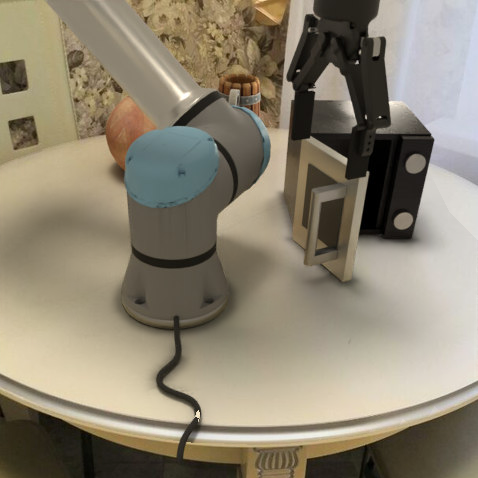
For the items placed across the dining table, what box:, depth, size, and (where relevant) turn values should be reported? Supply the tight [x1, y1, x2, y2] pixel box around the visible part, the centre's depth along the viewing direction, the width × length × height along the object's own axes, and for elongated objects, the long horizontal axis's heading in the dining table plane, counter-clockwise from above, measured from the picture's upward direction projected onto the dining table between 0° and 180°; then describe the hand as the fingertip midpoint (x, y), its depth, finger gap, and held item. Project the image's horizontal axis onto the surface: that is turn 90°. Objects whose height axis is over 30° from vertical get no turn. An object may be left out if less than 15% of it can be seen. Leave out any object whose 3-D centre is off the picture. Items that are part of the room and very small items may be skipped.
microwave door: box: [291, 136, 369, 283], centre depth 93 cm, size 7×15×18 cm, turn 28°
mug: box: [217, 72, 262, 119], centre depth 130 cm, size 16×11×15 cm
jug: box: [104, 95, 157, 172], centre depth 120 cm, size 18×18×20 cm
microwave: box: [283, 99, 435, 239], centre depth 106 cm, size 18×20×18 cm
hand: (326, 157), depth 82 cm, fingers open, 13 cm apart
